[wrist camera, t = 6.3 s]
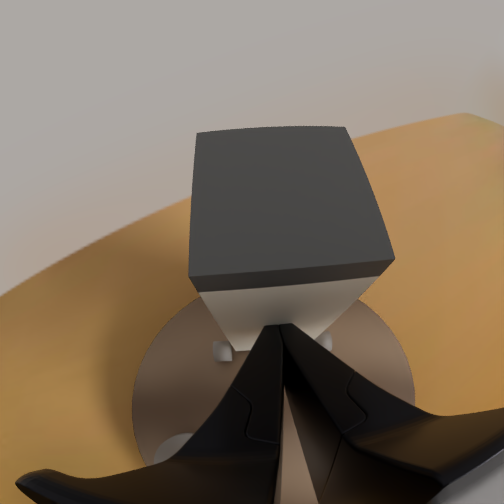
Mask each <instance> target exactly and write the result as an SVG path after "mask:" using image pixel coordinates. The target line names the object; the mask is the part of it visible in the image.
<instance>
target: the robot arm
mask: <svg viewBox="0 0 504 504" xmlns="http://www.w3.org/2000/svg"><path fill="white" fill-rule="evenodd" d="M284 388H285V392H286V396H287V399H288V403H289V406H290V410H291V413H292V417H293V420H294V423H295V427H296V430H297V434H298V437H299V440H300V444H301V447H302V451H303V454H304V457H305V461H306V464H307V468H308V471H309V474H310V478H311V481H312V484H313V488H314V491H315V494H316V498H317V501H318V503H319V504H504V408H499V409H494V410H489V411H483V412H477V413H470V414H462V415H454V416H438V415H433V414H430V413H428V412H425V411H423V410H421V409H419V408H417V407H415V406H413V405H412V404H410V403H408V402H406V401H404V400H402V399H400V398H398V397H396V396H395V395H393V394H391V393H389V392H387V391H386V390H384V389H382V388H381V387H379V386H377V385H376V384H374V383H373V382H371V381H370V380H368V379H367V378H365V377H364V376H362V375H361V374H360V373H358V372H357V371H355V370H354V369H353V368H351V367H350V366H349V365H347V364H346V363H345V362H343V361H342V360H341V359H339V358H338V357H337V356H335V355H334V354H332V353H331V352H330V351H328V350H327V349H326V348H324V347H323V346H322V345H321V344H319V343H318V342H317V341H315V340H314V339H313V338H311V337H310V336H309V335H307V334H306V333H305V332H303V331H302V330H301V329H300V328H298V327H297V326H296V325H294V324H293V323H287V324H279V325H266V326H264V327H263V329H262V330H261V332H260V334H259V336H258V338H257V339H256V341H255V343H254V345H253V346H252V348H251V350H250V352H249V354H248V355H247V357H246V359H245V361H244V362H243V364H242V366H241V367H240V369H239V371H238V373H237V374H236V376H235V378H234V379H233V381H232V383H231V385H230V387H229V388H228V389H227V391H226V393H225V394H224V396H223V398H222V399H221V401H220V402H219V404H218V405H217V407H216V408H215V409H214V410H213V412H212V413H211V414H210V415H209V417H208V418H207V419H206V420H205V421H204V423H203V424H202V425H201V426H200V427H199V428H198V429H197V431H196V432H195V433H194V434H193V435H192V436H191V437H190V438H189V440H188V441H187V442H186V443H185V444H184V445H183V446H182V447H181V448H180V449H179V450H178V451H177V452H176V453H175V454H174V455H173V456H171V457H170V458H168V459H166V460H165V461H163V462H160V463H157V464H153V465H150V466H147V467H143V468H140V469H136V470H132V471H128V472H124V473H120V474H116V475H112V476H107V477H102V478H88V479H85V478H77V477H73V476H69V475H66V474H63V473H60V472H58V471H55V470H51V469H42V470H38V471H33V472H30V473H27V474H25V475H23V476H22V477H20V478H19V479H18V480H17V481H16V482H15V484H16V486H17V487H18V489H20V490H21V491H22V492H23V493H24V494H25V495H26V496H28V497H29V498H30V499H32V500H33V501H34V502H36V503H37V504H280V503H281V484H282V461H283V429H284Z"/></svg>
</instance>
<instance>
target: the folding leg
mask: <svg viewBox="0 0 504 504" xmlns="http://www.w3.org/2000/svg"><path fill="white" fill-rule="evenodd" d="M394 260H395V256H394V253H393V249H392V246H391V243H390V239H389V236H388V233H387V230H386V227H385V224H384V221H383V218H382V215H381V212H380V210H379V207H378V204H377V201H376V199H375V196H374V193H373V191H372V188H371V185H370V183H369V180H368V178H367V175H366V173H365V171H364V168H363V166H362V163H361V161H360V159H359V156H358V154H357V152H356V150H355V147H354V145H353V143H352V141H351V139H350V136H349V134H348V133H347V130H346V128H345V127H332V126H331V127H330V126H286V127H285V126H284V127H260V128H245V129H231V130H220V131H210V132H202V133H197V136H196V146H195V157H194V170H193V183H192V198H191V216H190V239H189V278H190V280H191V281H192V283H193V285H194V286H195V288H196V290H197V291H198V293H199V295H200V296H201V298H202V300H203V301H204V303H205V304H206V306H207V308H208V309H209V311H210V312H211V314H212V316H213V317H214V319H215V320H216V322H217V323H218V325H219V326H220V328H221V330H222V331H223V333H224V334H225V336H226V337H227V339H228V340H229V342H230V343H231V345H232V346H233V348H234V349H235V351H246V350H251V348H252V346H253V345H254V343H255V341H256V339H257V338H258V336H259V334H260V332H261V330H262V329H263V327H264V326H266V325H279V324H287V323H293V324H294V325H296V326H297V327H298V328H300V329H301V330H302V331H303V332H305V333H306V334H307V335H309V336H310V337H311V338H313V339H316V338H317V337H318V336H319V335H320V334H321V333H322V332H323V331H324V330H325V329H327V328H328V327H329V326H330V325H331V324H332V323H333V322H334V321H335V320H336V319H337V318H338V317H339V316H340V315H341V314H342V313H344V312H345V311H346V310H347V309H348V308H349V307H350V306H351V305H352V304H353V303H354V302H355V301H356V300H357V299H358V298H359V297H360V296H361V295H362V294H363V293H364V292H365V291H366V290H367V289H368V288H369V287H370V286H371V284H372V283H373V282H374V281H375V280H376V279H377V278H378V277H379V276H380V275H381V274H382V273H383V272H384V271H385V270H386V269H387V267H388V266H389V265H390V264H391V263H392V262H393V261H394Z"/></svg>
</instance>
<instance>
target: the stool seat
mask: <svg viewBox="0 0 504 504" xmlns="http://www.w3.org/2000/svg"><path fill="white" fill-rule="evenodd" d="M314 340H315V341H317V342H318V343H319V344H321V345H322V346H323V347H324V348H326V349H327V350H328V351H330V352H331V353H332V354H334V355H335V356H337V357H338V358H339V359H341V360H342V361H343V362H345V363H346V364H347V365H349V366H350V367H351V368H353V369H354V370H355V371H357V372H358V373H360V374H361V375H362V376H364V377H365V378H367V379H368V380H370V381H371V382H373V383H374V384H376V385H377V386H379V387H381V388H382V389H384V390H386V391H387V392H389V393H391V394H393V395H395V396H396V397H398V398H400V399H402V400H404V401H406V402H408V403H410V404H412V405H413V406H415V390H414V384H413V378H412V373H411V370H410V366H409V363H408V360H407V357H406V355H405V353H404V351H403V349H402V347H401V345H400V343H399V341H398V340H397V338H396V337H395V335H394V334H393V332H392V331H391V329H390V328H389V327H388V326H387V324H386V323H385V322H384V321H383V320H382V319H381V318H380V316H378V315H377V314H376V313H375V312H374V311H373V310H372V309H370V308H369V307H368V306H367V305H366V304H364V303H363V302H361V301H360V300H358V299H357V300H356V301H355V302H354V303H353V304H352V305H351V306H350V307H349V308H348V309H347V310H346V311H345V312H344V313H342V314H341V315H340V316H339V317H338V318H337V319H336V320H335V321H334V322H333V323H332V324H331V325H330V326H329V327H328V328H327V329H325V330H324V331H323V332H322V333H321V334H320V335H319V336H318V337H317V338H316V339H314ZM249 352H250V350H246V351H235V349H234V348H233V346H232V345H231V343H230V342H229V340H228V339H227V337H226V336H225V334H224V333H223V331H222V330H221V328H220V326H219V325H218V323H217V322H216V320H215V319H214V317H213V316H212V314H211V312H210V311H209V309H208V308H207V306H206V304H205V303H204V301H203V300H202V298H201V297H199V298H197V299H195V300H194V301H193V302H191V303H190V304H188V305H187V306H186V307H184V308H183V309H181V310H180V311H179V312H178V313H177V314H176V315H175V316H174V317H173V318H172V319H171V320H169V321H168V322H167V324H166V325H165V326H164V327H163V328H162V330H161V331H160V332H159V333H158V334H157V336H156V337H155V339H154V340H153V342H152V343H151V345H150V347H149V348H148V350H147V352H146V354H145V356H144V358H143V360H142V363H141V365H140V367H139V371H138V374H137V377H136V381H135V385H134V392H133V399H132V420H133V427H134V434H135V438H136V441H137V445H138V448H139V451H140V453H141V456H142V458H143V460H144V462H145V464H146V466H150V465H153V464H157V463H160V462H163V461H165V460H166V459H168V458H170V457H171V456H173V455H174V454H175V453H176V452H177V451H178V450H179V449H180V448H181V447H182V446H183V445H184V444H185V443H186V442H187V441H188V440H189V438H190V437H191V436H192V435H193V434H194V433H195V432H196V431H197V429H198V428H199V427H200V426H201V425H202V424H203V423H204V421H205V420H206V419H207V418H208V417H209V415H210V414H211V413H212V412H213V410H214V409H215V408H216V407H217V405H218V404H219V402H220V401H221V399H222V398H223V396H224V394H225V393H226V391H227V389H228V388H229V387H230V385H231V383H232V381H233V379H234V378H235V376H236V374H237V373H238V371H239V369H240V367H241V366H242V364H243V362H244V361H245V359H246V357H247V355H248V354H249ZM280 504H319V503H318V501H317V498H316V494H315V491H314V488H313V484H312V481H311V478H310V474H309V471H308V468H307V464H306V461H305V457H304V454H303V451H302V447H301V444H300V440H299V437H298V434H297V430H296V427H295V423H294V420H293V417H292V413H291V410H290V406H289V403H288V399H287V396H286V392H285V388H284V429H283V461H282V484H281V503H280Z"/></svg>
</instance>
